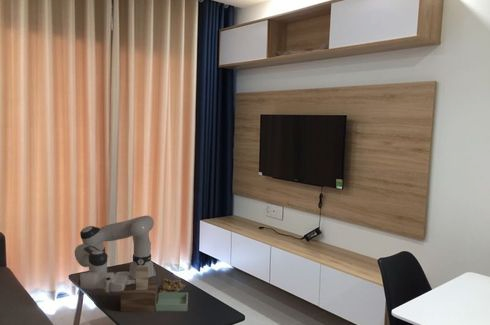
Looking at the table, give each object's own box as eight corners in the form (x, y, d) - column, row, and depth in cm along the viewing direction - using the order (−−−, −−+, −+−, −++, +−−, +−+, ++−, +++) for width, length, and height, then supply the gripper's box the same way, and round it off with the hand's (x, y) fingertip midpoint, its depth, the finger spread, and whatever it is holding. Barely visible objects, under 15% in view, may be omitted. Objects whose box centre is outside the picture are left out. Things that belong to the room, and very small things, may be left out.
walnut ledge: (125, 299, 241) (125, 282, 240) (157, 299, 243) (157, 282, 242) (120, 311, 225) (120, 293, 224) (154, 311, 227) (155, 293, 226)
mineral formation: (160, 288, 259) (185, 286, 261) (159, 300, 246) (185, 298, 248) (160, 276, 257) (184, 275, 259) (158, 288, 244) (184, 286, 246)
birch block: (137, 286, 235) (137, 265, 234) (148, 286, 236) (148, 265, 235) (135, 289, 230) (136, 268, 229) (146, 289, 231) (147, 268, 230)
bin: (158, 299, 243) (158, 292, 242) (187, 299, 245) (188, 292, 244) (155, 311, 227) (155, 304, 227) (187, 311, 229) (187, 304, 229)
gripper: (113, 279, 239) (138, 279, 240) (105, 293, 218) (132, 294, 220) (113, 268, 238) (138, 268, 240) (105, 282, 218) (132, 282, 219)
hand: (135, 281), depth 230 cm, fingers closed
